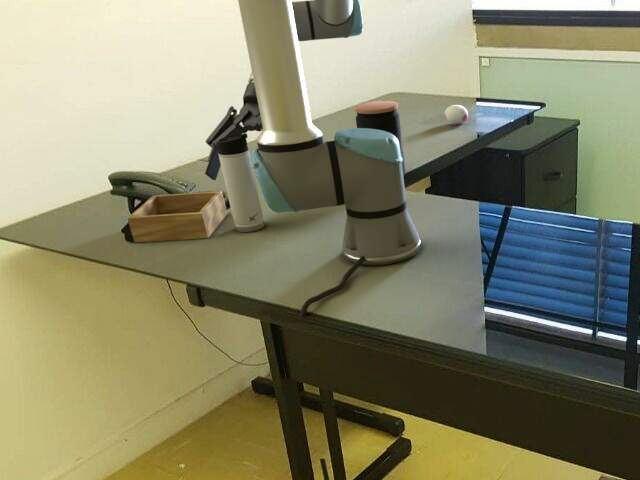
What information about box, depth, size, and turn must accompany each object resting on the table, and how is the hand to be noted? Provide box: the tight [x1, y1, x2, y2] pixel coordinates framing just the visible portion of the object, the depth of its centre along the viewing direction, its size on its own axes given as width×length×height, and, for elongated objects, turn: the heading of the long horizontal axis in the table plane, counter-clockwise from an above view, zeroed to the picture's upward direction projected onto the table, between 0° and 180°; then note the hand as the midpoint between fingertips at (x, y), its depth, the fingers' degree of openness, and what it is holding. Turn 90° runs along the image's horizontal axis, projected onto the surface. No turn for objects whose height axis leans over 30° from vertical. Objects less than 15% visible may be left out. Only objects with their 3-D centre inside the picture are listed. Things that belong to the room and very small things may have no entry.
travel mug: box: [216, 132, 265, 233], centre depth 168 cm, size 6×7×20 cm
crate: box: [126, 190, 228, 243], centre depth 175 cm, size 16×16×6 cm
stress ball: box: [444, 104, 469, 127], centre depth 249 cm, size 8×8×7 cm
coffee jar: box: [353, 100, 407, 178], centre depth 196 cm, size 11×11×18 cm
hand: (235, 178), depth 166 cm, fingers open, 13 cm apart
